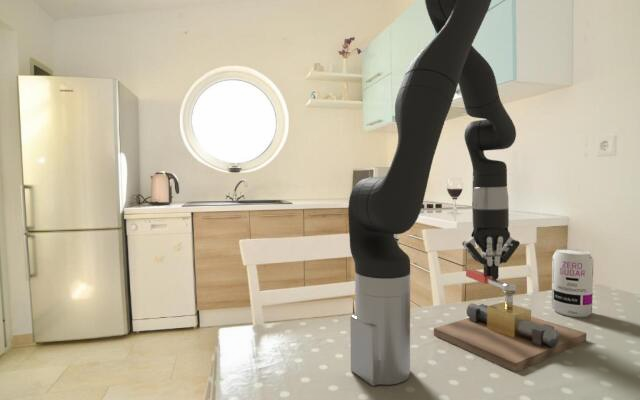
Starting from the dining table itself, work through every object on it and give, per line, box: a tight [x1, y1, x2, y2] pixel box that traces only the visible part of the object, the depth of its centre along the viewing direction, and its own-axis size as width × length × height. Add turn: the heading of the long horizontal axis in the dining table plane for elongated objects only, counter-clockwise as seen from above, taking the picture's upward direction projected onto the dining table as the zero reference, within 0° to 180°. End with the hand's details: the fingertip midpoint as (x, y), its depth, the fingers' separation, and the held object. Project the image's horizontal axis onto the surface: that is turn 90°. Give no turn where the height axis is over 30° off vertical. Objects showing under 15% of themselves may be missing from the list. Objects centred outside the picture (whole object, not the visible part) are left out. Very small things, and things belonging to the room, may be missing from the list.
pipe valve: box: [466, 293, 559, 347], centre depth 77 cm, size 6×18×9 cm, turn 31°
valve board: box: [433, 315, 587, 373], centre depth 77 cm, size 24×18×2 cm
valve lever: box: [465, 268, 517, 295], centre depth 83 cm, size 15×3×2 cm, turn 12°
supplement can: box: [551, 248, 594, 318], centre depth 92 cm, size 8×8×15 cm
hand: (491, 281), depth 87 cm, fingers closed
